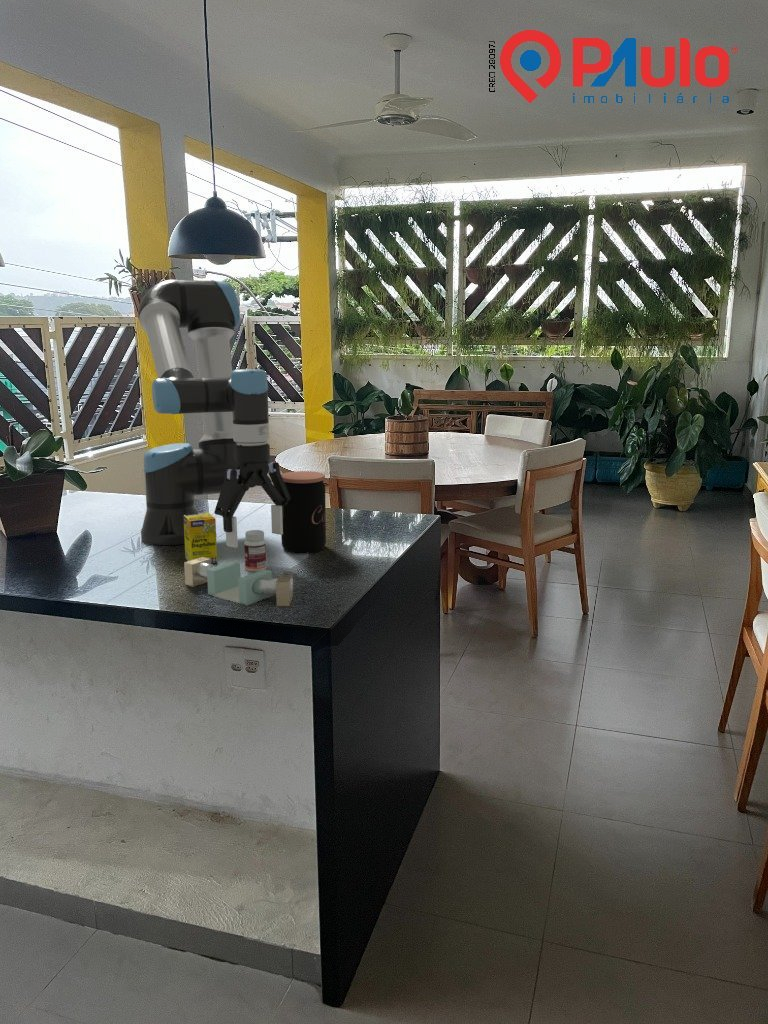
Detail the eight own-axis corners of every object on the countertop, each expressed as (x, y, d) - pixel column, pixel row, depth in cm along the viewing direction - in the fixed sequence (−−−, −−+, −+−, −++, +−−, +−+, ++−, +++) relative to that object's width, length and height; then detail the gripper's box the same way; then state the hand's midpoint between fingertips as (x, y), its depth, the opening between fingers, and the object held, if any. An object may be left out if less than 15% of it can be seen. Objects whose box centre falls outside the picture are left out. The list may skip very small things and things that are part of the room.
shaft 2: (249, 605, 146) (248, 581, 145) (254, 596, 151) (253, 573, 150) (290, 606, 146) (290, 582, 145) (294, 597, 151) (293, 574, 150)
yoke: (208, 594, 152) (206, 569, 151) (234, 585, 158) (233, 561, 157) (246, 606, 146) (245, 580, 145) (272, 596, 151) (271, 571, 150)
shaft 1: (182, 583, 158) (181, 561, 157) (201, 577, 162) (200, 556, 161) (212, 592, 153) (210, 570, 152) (230, 586, 157) (229, 564, 156)
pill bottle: (246, 565, 171) (244, 529, 169) (267, 565, 171) (266, 529, 169) (244, 572, 166) (242, 535, 164) (266, 571, 167) (264, 534, 165)
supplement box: (191, 568, 168) (189, 520, 166) (185, 561, 173) (182, 514, 171) (218, 565, 171) (216, 517, 168) (211, 558, 176) (208, 512, 174)
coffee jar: (318, 555, 178) (317, 480, 174) (275, 552, 180) (273, 478, 176) (331, 543, 189) (330, 472, 184) (289, 540, 191) (288, 470, 186)
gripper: (218, 451, 150) (223, 555, 155) (304, 438, 170) (306, 531, 174) (193, 448, 154) (199, 549, 159) (280, 436, 174) (282, 526, 179)
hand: (255, 539), depth 167 cm, fingers open, 13 cm apart
